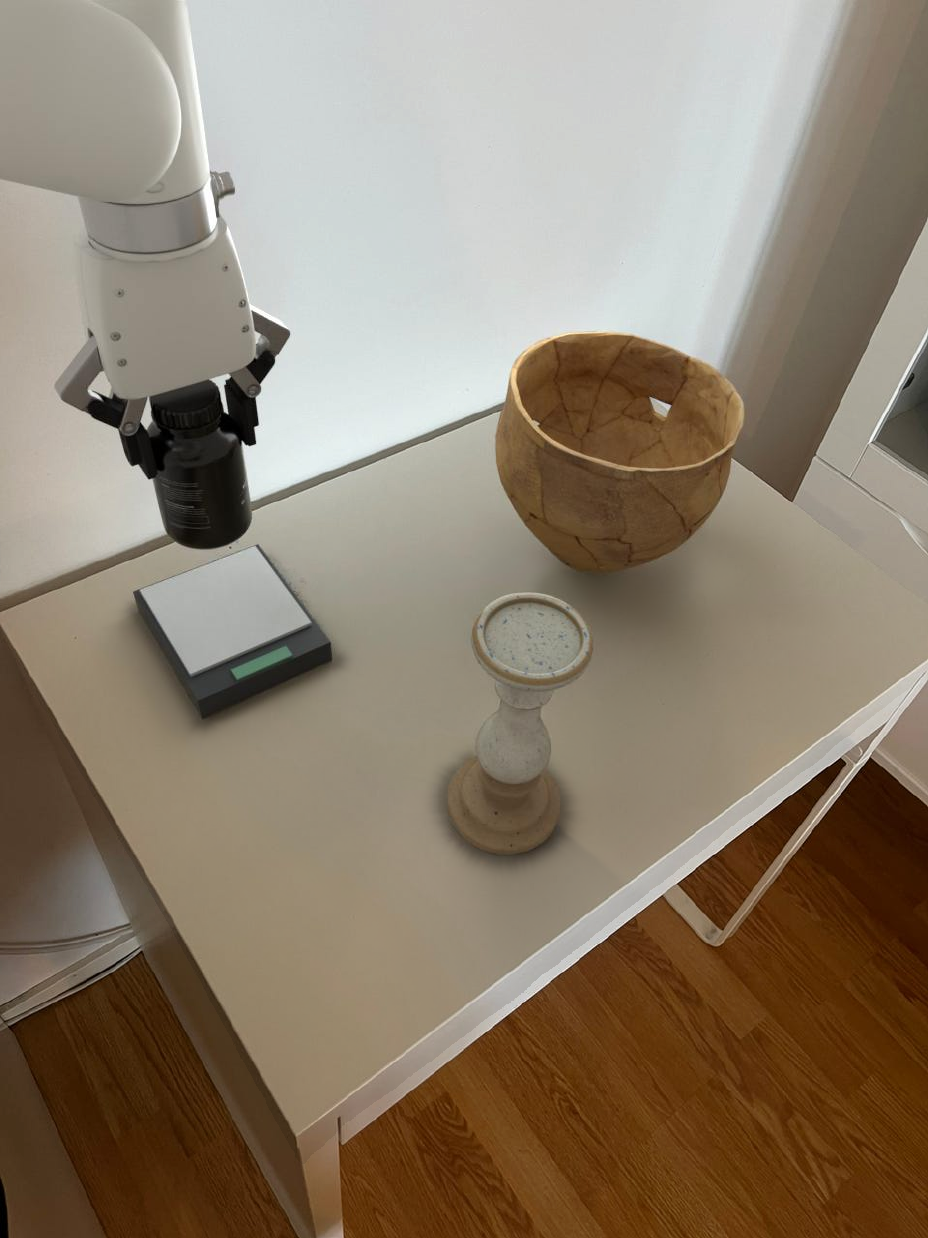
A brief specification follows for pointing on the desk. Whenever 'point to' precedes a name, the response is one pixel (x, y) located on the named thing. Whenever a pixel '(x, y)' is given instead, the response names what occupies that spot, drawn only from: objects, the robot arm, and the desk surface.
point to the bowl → (614, 447)
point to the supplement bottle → (199, 467)
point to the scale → (232, 629)
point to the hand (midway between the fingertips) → (195, 449)
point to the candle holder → (518, 721)
